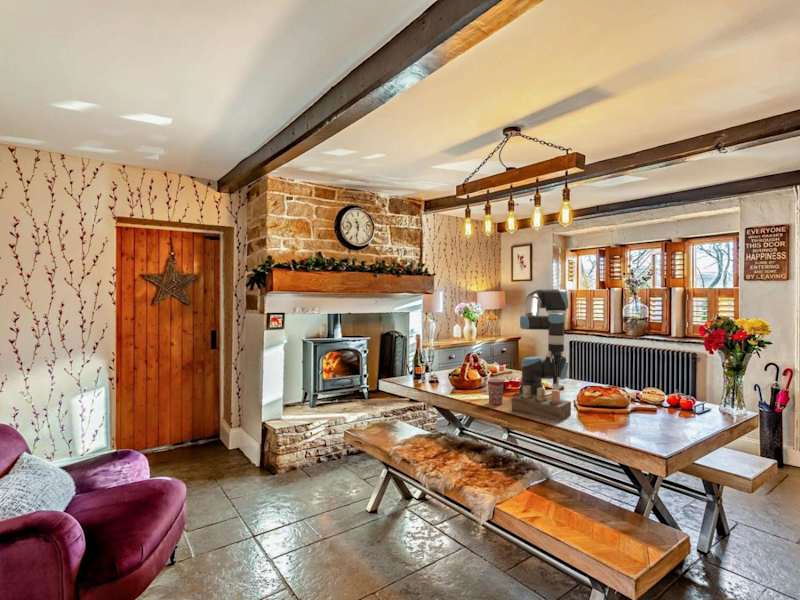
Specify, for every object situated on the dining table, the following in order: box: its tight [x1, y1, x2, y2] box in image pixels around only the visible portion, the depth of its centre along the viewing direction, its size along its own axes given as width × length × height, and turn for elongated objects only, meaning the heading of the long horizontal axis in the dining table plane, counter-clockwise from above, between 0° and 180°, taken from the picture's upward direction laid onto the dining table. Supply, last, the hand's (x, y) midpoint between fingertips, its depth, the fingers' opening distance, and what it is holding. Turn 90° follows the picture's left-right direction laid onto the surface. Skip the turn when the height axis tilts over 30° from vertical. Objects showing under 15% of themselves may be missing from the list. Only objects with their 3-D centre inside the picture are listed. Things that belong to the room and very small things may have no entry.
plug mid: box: [537, 387, 546, 402], centre depth 232 cm, size 4×4×8 cm
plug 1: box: [523, 386, 531, 399], centre depth 237 cm, size 4×4×8 cm
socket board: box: [511, 394, 572, 422], centre depth 232 cm, size 14×26×7 cm, turn 48°
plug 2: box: [551, 389, 561, 404], centre depth 227 cm, size 4×4×8 cm
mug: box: [487, 377, 507, 406], centre depth 252 cm, size 13×9×14 cm
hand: (555, 389), depth 226 cm, fingers closed
